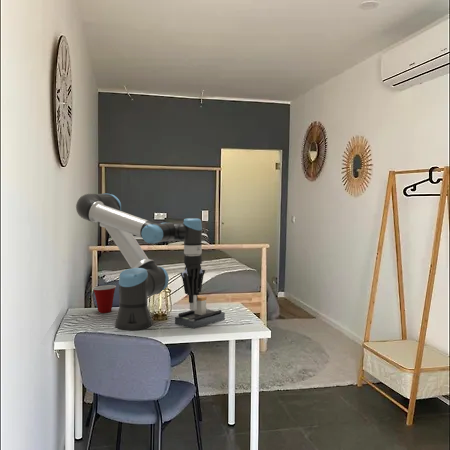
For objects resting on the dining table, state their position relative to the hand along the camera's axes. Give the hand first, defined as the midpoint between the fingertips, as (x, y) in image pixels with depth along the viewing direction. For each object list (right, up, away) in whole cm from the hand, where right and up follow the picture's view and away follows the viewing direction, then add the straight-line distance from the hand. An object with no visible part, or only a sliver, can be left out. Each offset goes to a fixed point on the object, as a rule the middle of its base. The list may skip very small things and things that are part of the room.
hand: (193, 309), depth 211 cm
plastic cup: (-43, -5, +21) cm, 48 cm away
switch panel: (+3, -6, +4) cm, 8 cm away
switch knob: (+3, -2, +4) cm, 6 cm away
